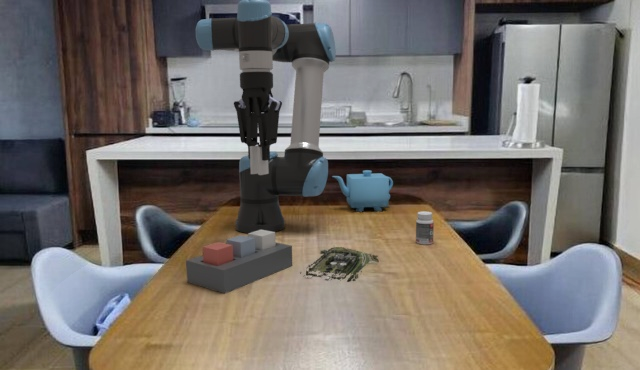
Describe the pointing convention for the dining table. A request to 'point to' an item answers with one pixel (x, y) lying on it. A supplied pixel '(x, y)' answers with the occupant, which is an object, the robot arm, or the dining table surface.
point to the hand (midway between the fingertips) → (259, 173)
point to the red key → (217, 253)
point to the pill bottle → (424, 228)
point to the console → (239, 268)
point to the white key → (263, 239)
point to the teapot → (366, 190)
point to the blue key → (242, 245)
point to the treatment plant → (341, 263)
